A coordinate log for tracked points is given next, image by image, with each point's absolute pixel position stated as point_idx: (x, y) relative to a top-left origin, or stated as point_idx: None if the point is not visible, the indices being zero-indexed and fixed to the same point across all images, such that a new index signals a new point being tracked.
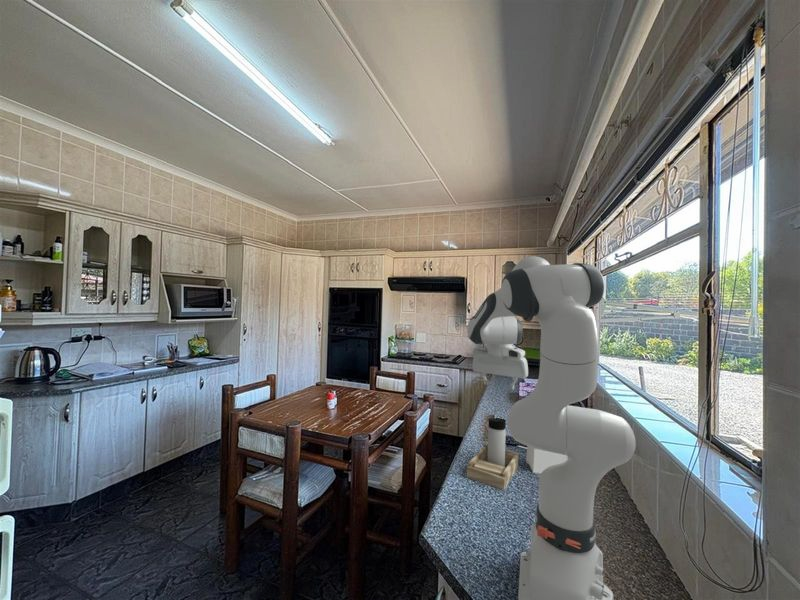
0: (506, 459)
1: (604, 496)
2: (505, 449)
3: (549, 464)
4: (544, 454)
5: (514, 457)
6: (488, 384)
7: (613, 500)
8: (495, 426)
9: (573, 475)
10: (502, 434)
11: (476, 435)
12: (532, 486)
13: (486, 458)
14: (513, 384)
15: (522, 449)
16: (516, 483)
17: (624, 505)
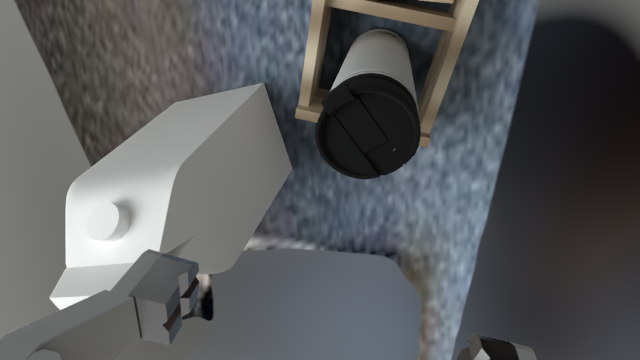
0: None
1: (86, 54)
2: None
3: (202, 108)
4: (202, 117)
5: (307, 90)
6: (462, 354)
7: (65, 42)
8: (374, 79)
9: None
10: (338, 78)
11: (451, 280)
12: (257, 13)
13: None
14: (99, 293)
15: (309, 235)
16: (305, 8)
17: (40, 28)
